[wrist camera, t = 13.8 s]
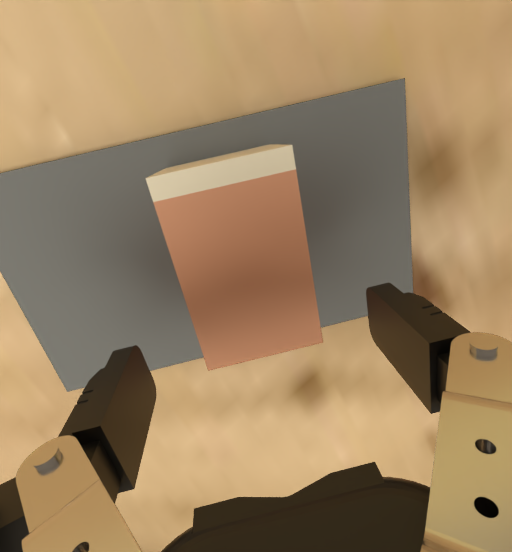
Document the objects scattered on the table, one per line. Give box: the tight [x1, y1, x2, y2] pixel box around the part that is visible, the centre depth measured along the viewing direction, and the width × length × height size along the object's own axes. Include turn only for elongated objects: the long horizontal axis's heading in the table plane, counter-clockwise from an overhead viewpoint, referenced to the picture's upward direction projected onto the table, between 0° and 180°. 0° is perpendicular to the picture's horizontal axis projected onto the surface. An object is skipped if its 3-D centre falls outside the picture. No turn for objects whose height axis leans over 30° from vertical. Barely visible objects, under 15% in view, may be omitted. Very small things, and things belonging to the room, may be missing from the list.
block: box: [145, 144, 323, 371], centre depth 15 cm, size 5×5×8 cm
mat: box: [0, 78, 413, 392], centre depth 18 cm, size 21×12×1 cm, turn 102°
